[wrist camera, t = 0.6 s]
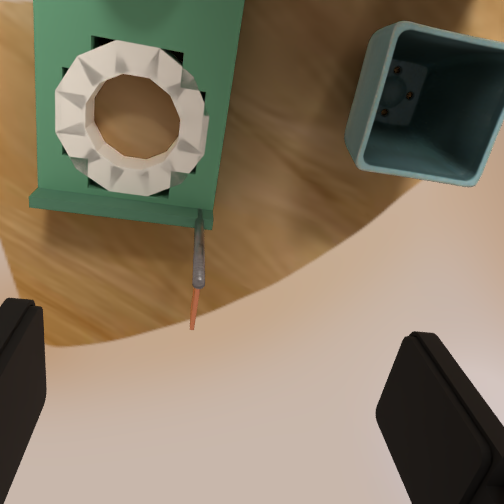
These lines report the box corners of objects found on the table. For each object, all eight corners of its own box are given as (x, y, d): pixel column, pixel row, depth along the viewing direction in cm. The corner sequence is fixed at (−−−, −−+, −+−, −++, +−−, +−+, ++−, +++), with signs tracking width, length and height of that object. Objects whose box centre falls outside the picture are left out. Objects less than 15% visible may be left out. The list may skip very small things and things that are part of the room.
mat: (43, -294, 25) (9, -362, 20) (274, -225, 27) (289, -273, 23) (50, 184, 37) (29, 207, 32) (210, 206, 39) (211, 230, 34)
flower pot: (321, 138, 37) (354, 170, 29) (350, 19, 33) (397, 18, 25) (420, 154, 39) (477, 189, 31) (458, 42, 35) (535, 48, 27)
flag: (196, 194, 38) (193, 277, 26) (204, 195, 38) (205, 279, 26) (191, 234, 40) (185, 330, 27) (198, 235, 40) (197, 331, 27)
